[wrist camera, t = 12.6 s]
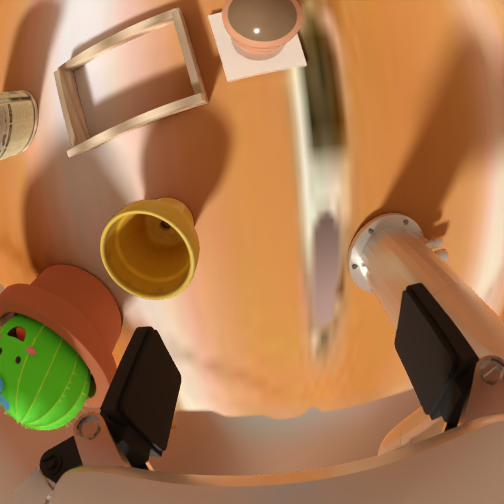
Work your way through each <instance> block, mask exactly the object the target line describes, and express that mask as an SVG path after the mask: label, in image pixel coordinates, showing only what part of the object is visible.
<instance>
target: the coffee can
mask: <svg viewBox="0 0 504 504" xmlns="http://www.w3.org/2000/svg"><path fill="white" fill-rule="evenodd" d="M37 124H38V109H37V104H36V101H35V99H34V97H33V95H32V94H31V93H30V92H28V91H25V90H19V91H5V92H0V160H2V159H5V158H8V157H10V156H13V155H18V154H21V153H22V152H24V151H25V150H26V149H27V148H28V147H29V145H30V144H31V142H32V140H33V138H34V136H35V132H36V129H37Z"/></svg>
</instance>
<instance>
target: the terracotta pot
mask: <svg viewBox="0 0 504 504" xmlns="http://www.w3.org/2000/svg"><path fill="white" fill-rule="evenodd" d="M222 21H223V25H224V27H225V29H226V31H227V33H228V34H229V35H230V36H231V41H232V45H233V47H234V49H235V50H236V51H237V52H238V53H239V54H240V55H241V56H243V57H245V58H247V59H250V60H256V61H262V60H268V59H271V58H273V57H275V56H276V55H278V54H279V53H280V52H281V51H282V49H283V48H284V46H285V44H286V43H287V42H289V41H290V40H291V39H292V38H294V36H295V35H296V34H297V32H298V31H299V29H300V27H301V25H302V21H303V13H302V9H301V7H300V5H299V3H298V1H297V0H226V2H225V3H224V6H223V9H222Z"/></svg>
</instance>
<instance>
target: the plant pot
mask: <svg viewBox="0 0 504 504" xmlns="http://www.w3.org/2000/svg"><path fill="white" fill-rule="evenodd" d="M162 221H165V222H167V223H168V224H169V225H170V228H164V227H163V226H162V224H161V222H162ZM199 251H200V246H199V239H198V236H197V233H196V230H195V228H194V221H193V217H192V214H191V212H190V210H189V209H188V207H187V206H186V205H185V204H183V203H182V202H181V201H179V200H177V199H174V198H160V199H157V200H140V201H136V202H133V203H131V204H129V205H127V206H126V207H124V208H123V209H122V210H120V211H119V212H118V213H117V214H115V215H114V216H113V217H112V218H111V219H110V220H109V222H108V223H107V224H106V226H105V228H104V230H103V232H102V235H101V240H100V253H101V258H102V261H103V264H104V266H105V268H106V270H107V272H108V274H109V275H110V276H111V278H112V279H113V280H114V281H115V282H116V283H117V284H118V285H119V286H120V287H121V288H123V289H124V290H125V291H127V292H129V293H130V294H132V295H135V296H137V297H140V298H143V299H149V300H163V299H168V298H171V297H174V296H176V295H178V294H179V293H181V292H182V291H183V290H184V289H185V288H186V287H187V286H188V285H189V283H190V282H191V280H192V278H193V276H194V273H195V270H196V266H197V263H198V258H199Z"/></svg>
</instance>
